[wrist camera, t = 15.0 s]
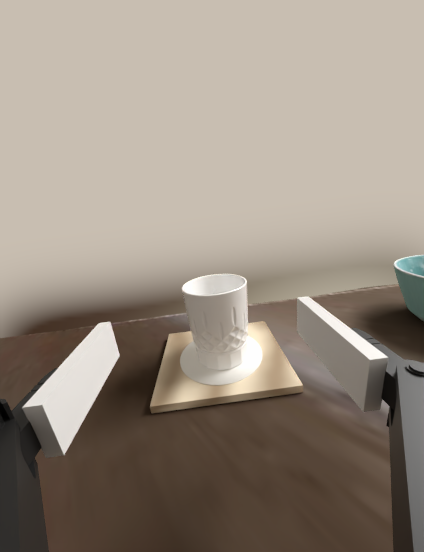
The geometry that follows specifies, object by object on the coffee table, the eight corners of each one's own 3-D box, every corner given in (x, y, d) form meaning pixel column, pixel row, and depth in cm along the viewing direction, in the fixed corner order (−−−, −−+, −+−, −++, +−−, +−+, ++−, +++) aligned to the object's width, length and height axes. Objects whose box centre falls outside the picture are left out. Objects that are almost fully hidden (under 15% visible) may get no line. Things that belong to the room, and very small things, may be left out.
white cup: (211, 384, 23) (198, 301, 21) (184, 350, 30) (172, 284, 27) (265, 356, 27) (260, 282, 24) (230, 331, 34) (224, 270, 31)
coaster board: (151, 413, 22) (149, 405, 22) (170, 338, 36) (169, 333, 35) (302, 392, 22) (302, 384, 22) (264, 326, 36) (264, 320, 35)
